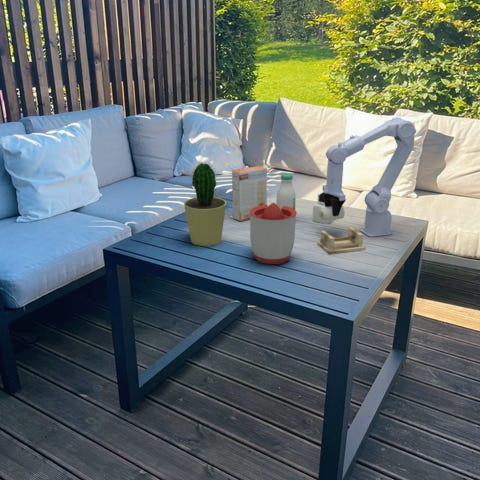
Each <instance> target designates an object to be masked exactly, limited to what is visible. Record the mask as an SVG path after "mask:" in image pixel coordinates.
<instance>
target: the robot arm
mask: <svg viewBox="0 0 480 480" xmlns="http://www.w3.org/2000/svg"><path fill="white" fill-rule="evenodd" d="M416 133H417V129H416V126H415V124H414V123H413V122H412V121H410V120H405V119H403V118H401V117H399V116H397V117H396V116H395V117H393V118H391V119H388V120H386V121H385V122H384V123H382V124H380V125H379V126H377V127H375V128H373V129H371V130H369V131H368V132H366V133H365V134H363V135H361V136H360V135H350V136H349V138H348V139H346V140H344V141H342V142H341V141H340V142H338V143H337V144H333V145H331V146H329V147H328V148H327V151H326V152H325V156H326V158H327V168H326V181H325V182H326V183H325V184H323V185H322V189H321V190H322V192H324V193H321V195H322V197H323V200H324V203H325V207H330V206H332V214H333V216H339V213H340V210H341V207H342V206H343V205H344V203H346V200H347V198H346V194H344V193H345V192H344V191H343V190H342V189H343V187H342V186H343V176H344V174H343V173H344V162H345V161H346V159H347V158H349V157H351V156H353V155H355V154H357V153H359V152H361V151H363V150H364V148H365V146H366V145H368V144H370V143H373V142H374V141H377V140H379V139H381V138H383V137H393V139H394V141H395V143H396V146H397V147H396V148H395V150H394V152H393V154H392V156H391V158H390V160H389V162H388V163H387V166H386V167H385V169H384V171H383V173H382V174H381V176H380V179H379V180H378V183H377V184H376V185H374V186H372V188H371V190H370V191H369V192H368V193H366V195H365V196H364V203H365V205H366V209H365V216H364V217H365V219H364V228H360V229H359V232H361V233H362V234H365V235H366V236H368V237H369V238H373V237H381V236H389V235H392V232H391V228H392V219H393V218H392V213H391V212H390V210H389V207H390V201H391V199H392V192H391V191H392V189H393V188H394V186H395V183H396V182H397V180H398V177H399V176H400V174H401V172H402V170H403V169H404V166H405V164H406V163H407V161H408V159H409V157H410V156H411V154H412V151H413V150H414V147H415V135H416Z"/></svg>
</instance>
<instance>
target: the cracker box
mask: <svg viewBox="0 0 480 480" xmlns="http://www.w3.org/2000/svg"><path fill="white" fill-rule="evenodd" d="M231 181H232V183H231V186H232V187H231V189H232V191H231V192H232V218H233V219H234V220H236V221H238V222H245V221H250V210H251V209H252V208H254V207H257V206H261V205H267V206H268V203H267V201H268V195H267V194H268V193H267V192H268V188H267V187H268V168H266V167H265V166H262V165H256V166H250V167H249V166H248V167H245V168H239V169H233V170H231Z"/></svg>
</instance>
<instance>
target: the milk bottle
mask: <svg viewBox="0 0 480 480" xmlns="http://www.w3.org/2000/svg"><path fill="white" fill-rule="evenodd" d="M293 179H294V176H293V174H291V173H282V174H281V175H280V181H281V183H280V185H279V187H278V190H277V192H276V202H275V204H276V205H277V206H278V207H279V208H280V209H281V208H282V207H283V206H288V207H291V208H293V209H294V210H296V191H295V188H294V186H293Z"/></svg>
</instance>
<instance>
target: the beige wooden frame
mask: <svg viewBox="0 0 480 480" xmlns="http://www.w3.org/2000/svg"><path fill="white" fill-rule="evenodd" d="M319 238H320V239H319V240H318V241H317V242H316V245H318V246H319V247H320V248H321V249H322V250H323V251H324V252H326V253H327V254H328V255H335V254H336V255H337V254H343V253H345V254H346V253H351V252H359V251H365V250H366V247H365V246H364V245H363V242H364V233H362V232H361V231H358V230H357V229H355V228H354V227H353V226H352V227H348V234H347V236H340V237H333V236H332V235H331V234H329V233H328V232H327V231H326V230H321V231H320V236H319Z"/></svg>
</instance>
